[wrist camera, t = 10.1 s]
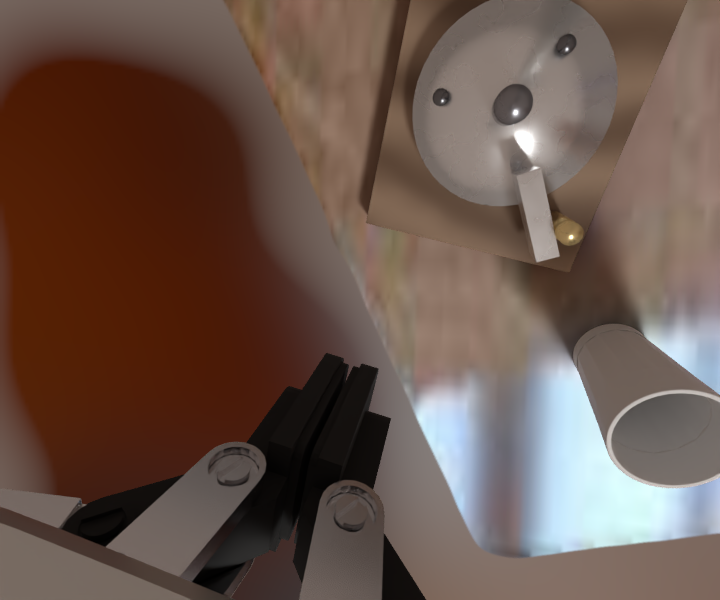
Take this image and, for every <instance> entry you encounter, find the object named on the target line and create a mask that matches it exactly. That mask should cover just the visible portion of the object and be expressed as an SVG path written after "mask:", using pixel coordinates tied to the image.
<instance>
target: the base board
mask: <svg viewBox="0 0 720 600" xmlns="http://www.w3.org/2000/svg"><path fill="white" fill-rule="evenodd" d="M487 1H490V0H411V1H410V6H409V11H408V16H407V21H406V26H405V31H404V36H403V41H402V46H401V51H400V56H399V61H398V66H397V71H396V76H395V81H394V86H393V91H392V96H391V101H390V106H389V111H388V116H387V121H386V126H385V131H384V136H383V141H382V146H381V151H380V156H379V161H378V166H377V171H376V176H375V181H374V186H373V191H372V196H371V201H370V206H369V211H368V216H367V221H366V223H368V224H372V225H376V226H380V227H384V228H388V229H392V230H396V231H401V232H405V233H409V234H413V235H417V236H421V237H425V238H429V239H433V240H437V241H441V242H445V243H449V244H453V245H458V246H462V247H466V248H470V249H474V250H478V251H482V252H486V253H490V254H494V255H498V256H502V257H506V258H510V259H515V260H519V261H523V262H527V263H531V264H535V265H539V266H543V267H547V268H551V269H555V270H559V271H563V272H567V273H569V272H570V270H571V267H572V265H573V263H574V260H575V258H576V256H577V254H578V251H579V249H580V247H581V244H582V242H583V240H584V237H585V235H586V233H587V231H588V228H589V226H590V224H591V221H592V219H593V217H594V214H595V212H596V210H597V208H598V205H599V203H600V201H601V198H602V196H603V194H604V191H605V189H606V187H607V185H608V182H609V180H610V178H611V175H612V173H613V171H614V168H615V166H616V164H617V162H618V159H619V157H620V155H621V152H622V150H623V148H624V145H625V143H626V141H627V139H628V136H629V134H630V132H631V129H632V127H633V125H634V122H635V120H636V118H637V116H638V113H639V111H640V109H641V106H642V104H643V102H644V99H645V97H646V95H647V93H648V90H649V88H650V86H651V83H652V81H653V79H654V76H655V74H656V72H657V70H658V67H659V65H660V63H661V60H662V58H663V56H664V53H665V51H666V49H667V47H668V44H669V42H670V40H671V37H672V35H673V33H674V30H675V28H676V26H677V24H678V21H679V19H680V17H681V14H682V12H683V10H684V7H685V5H686V3H687V1H688V0H570V1H572V2H574V3H575V4H577V5H579V6H581V7H582V8H583V9H584V10H586V11H587V12H588V13H589V14H590V15H591V16H592V17H593V18H594V19H595V20H596V21H597V23H598V24H599V25H600V26H601V28H602V29H603V31H604V33H605V34H606V36H607V38H608V40H609V42H610V45H611V47H612V50H613V52H614V57H615V61H616V66H617V77H618V87H617V99H616V104H615V109H614V113H613V116H612V119H611V122H610V125H609V128H608V130H607V132H606V134H605V136H604V138H603V140H602V142H601V144H600V145H599V147H598V149H597V150H596V152H595V153H594V154H593V156H592V157H591V158H590V160H589V161H588V162H587V164H586V165H585V166H584V167H583V168H582V169H581V170H580V171H579V172H578V173H577V174H576V175H575V176H573V177H572V178H571V179H570V180H569V181H567V182H566V183H565V184H563V185H562V186H560V187H559V188H557V189H556V190H554V191H553V192H551V193H549V194H547V198H548V203H549V208H550V212H551V211H557V212H560V213H561V214H563V215H565V216H566V217H568V218H570V219H571V220H573V221H574V222H576V223H578V224H579V225H581V227H582V228H583V231H584V234H583V237H582V239H581V240H580V241H579V242H578V243H577V244H575V245H571V246H567V245H564V244H562V243H561V242H560V241H559V240H558V239H556V241H557V246H558V251H559V255H560V256H559V257H555V258H551V259H548V260H544V261H540V262H536V261H535V260H534V258H533V257H532V255H531V254H530V252H529V248H528V243H527V239H526V235H525V230H524V226H523V222H522V218H521V213H520V209H519V205H510V206H488V205H481V204H477V203H474V202H470V201H467V200H465V199H463V198H460V197H458V196H457V195H455V194H453V193H452V192H450V191H449V190H447V189H446V188H445V187H444V186H442V185H441V184H440V183H439V182H438V181H437V180H436V179H435V178H434V176H433V175H432V174H431V173H430V171H429V170H428V168H427V167H426V165H425V163H424V161H423V159H422V158H421V156H420V153H419V150H418V147H417V145H416V140H415V136H414V130H413V120H412V118H413V101H414V94H415V90H416V86H417V82H418V79H419V76H420V73H421V71H422V68H423V66H424V64H425V62H426V60H427V58H428V56H429V54H430V53H431V51H432V50H433V48H434V47H435V45H436V44H437V42H438V41H439V39H440V38H441V37H442V36H443V35H444V34H445V32H446V31H447V30H448V29H449V28H450V27H451V26H452V25H453V24H454V23H455V22H456V21H458V20H459V19H460V18H461V17H463V16H464V15H465V14H467V13H468V12H469V11H471V10H472V9H474V8H476V7H478V6H479V5H481V4H483V3H485V2H487Z"/></svg>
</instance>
